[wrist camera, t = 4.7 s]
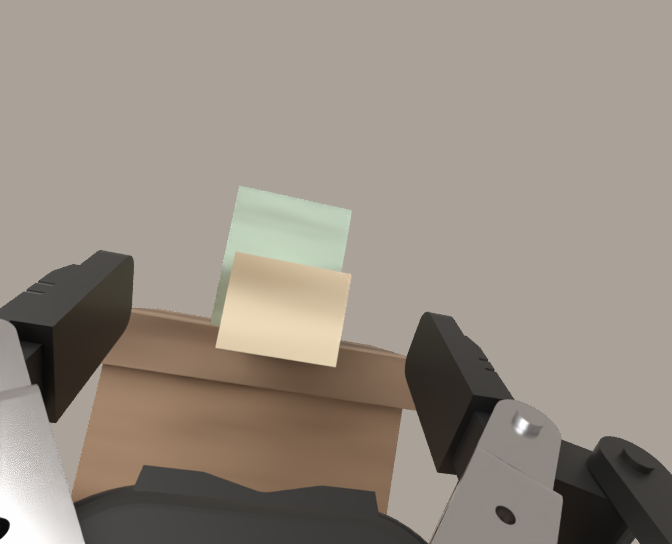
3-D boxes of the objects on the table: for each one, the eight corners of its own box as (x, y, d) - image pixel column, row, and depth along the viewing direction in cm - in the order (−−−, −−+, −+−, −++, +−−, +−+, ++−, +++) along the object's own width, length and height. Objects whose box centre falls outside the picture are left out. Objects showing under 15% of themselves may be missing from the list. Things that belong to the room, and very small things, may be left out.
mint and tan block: (392, 376, 9) (432, 116, 10) (151, 337, 8) (214, 59, 9) (314, 337, 23) (333, 231, 23) (222, 322, 22) (244, 213, 23)
